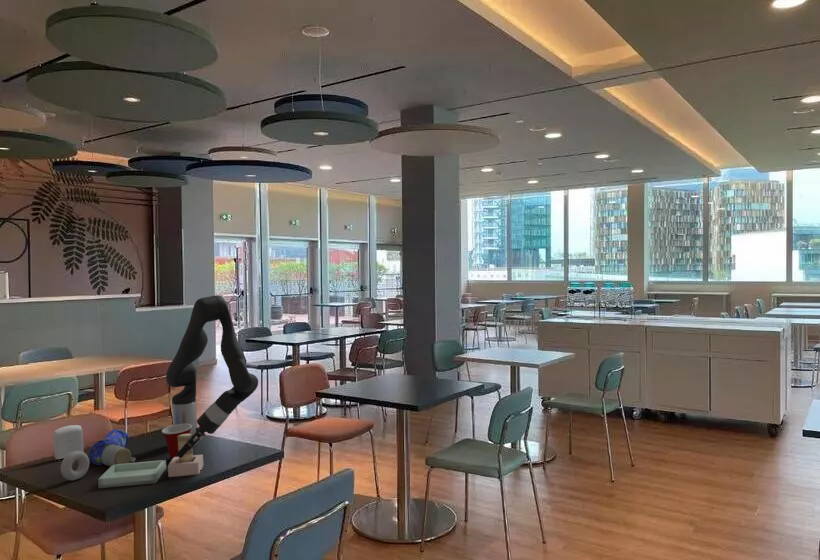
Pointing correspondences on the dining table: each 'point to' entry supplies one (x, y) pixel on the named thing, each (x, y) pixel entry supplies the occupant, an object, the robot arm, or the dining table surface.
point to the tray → (132, 474)
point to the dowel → (181, 441)
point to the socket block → (185, 466)
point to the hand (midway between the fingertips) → (180, 453)
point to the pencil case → (111, 438)
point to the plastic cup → (175, 437)
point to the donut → (68, 461)
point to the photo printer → (67, 440)
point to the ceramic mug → (116, 455)
